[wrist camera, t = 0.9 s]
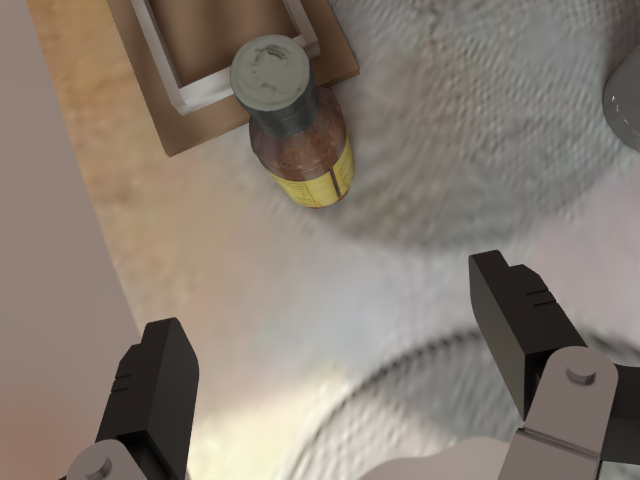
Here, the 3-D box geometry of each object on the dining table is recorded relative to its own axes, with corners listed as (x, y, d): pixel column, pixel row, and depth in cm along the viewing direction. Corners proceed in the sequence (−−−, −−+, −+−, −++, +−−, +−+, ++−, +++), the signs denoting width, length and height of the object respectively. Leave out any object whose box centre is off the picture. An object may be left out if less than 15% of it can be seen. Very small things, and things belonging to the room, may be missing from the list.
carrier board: (281, -91, 49) (274, -123, 46) (359, 73, 46) (358, 53, 42) (104, -12, 50) (85, -37, 46) (170, 157, 46) (153, 143, 43)
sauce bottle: (324, 126, 45) (291, -24, 26) (370, 181, 44) (371, 68, 25) (264, 173, 45) (184, 57, 26) (308, 229, 44) (260, 153, 25)
